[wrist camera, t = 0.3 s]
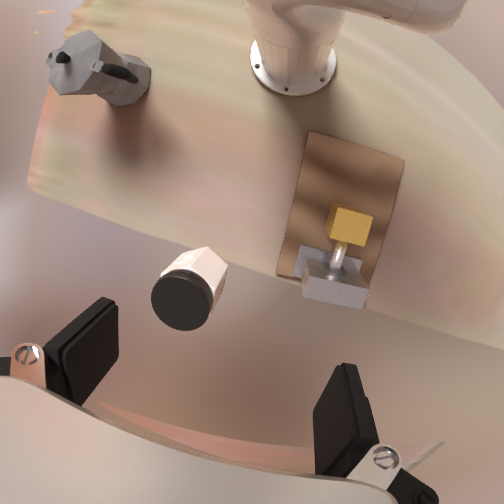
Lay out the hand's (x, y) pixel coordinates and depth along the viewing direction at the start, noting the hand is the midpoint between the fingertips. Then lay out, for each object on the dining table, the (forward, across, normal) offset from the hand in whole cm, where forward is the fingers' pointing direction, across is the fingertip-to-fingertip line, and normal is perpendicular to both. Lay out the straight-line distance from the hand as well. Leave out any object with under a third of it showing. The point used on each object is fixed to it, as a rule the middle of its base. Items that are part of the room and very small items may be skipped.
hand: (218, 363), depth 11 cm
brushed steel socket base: (+35, -11, +5) cm, 37 cm away
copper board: (+35, -11, -3) cm, 36 cm away
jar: (+35, +8, +12) cm, 38 cm away
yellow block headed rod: (+32, -11, +2) cm, 33 cm away
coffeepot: (+35, +27, -17) cm, 47 cm away
